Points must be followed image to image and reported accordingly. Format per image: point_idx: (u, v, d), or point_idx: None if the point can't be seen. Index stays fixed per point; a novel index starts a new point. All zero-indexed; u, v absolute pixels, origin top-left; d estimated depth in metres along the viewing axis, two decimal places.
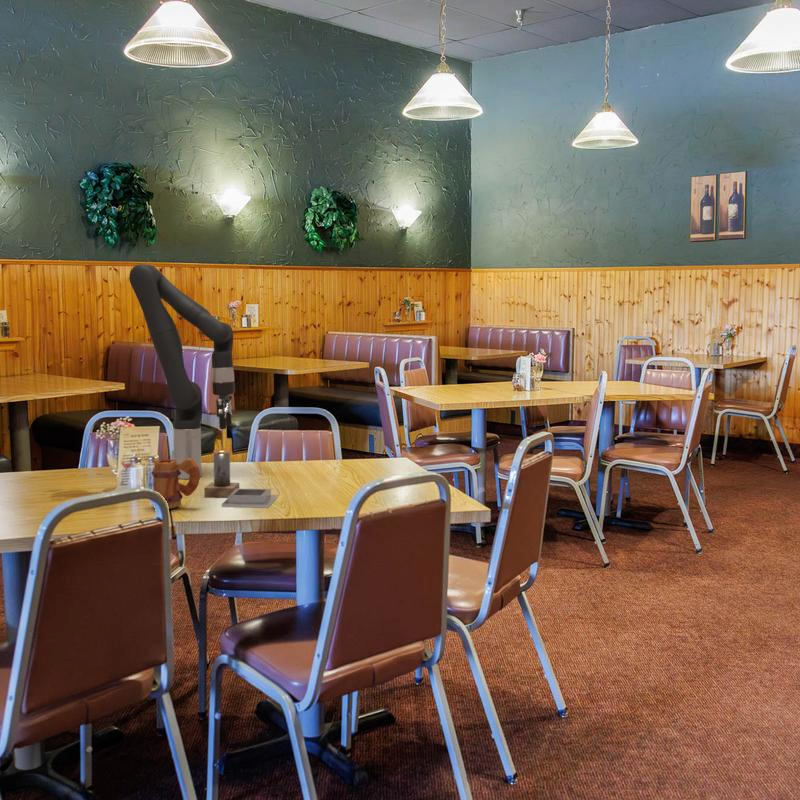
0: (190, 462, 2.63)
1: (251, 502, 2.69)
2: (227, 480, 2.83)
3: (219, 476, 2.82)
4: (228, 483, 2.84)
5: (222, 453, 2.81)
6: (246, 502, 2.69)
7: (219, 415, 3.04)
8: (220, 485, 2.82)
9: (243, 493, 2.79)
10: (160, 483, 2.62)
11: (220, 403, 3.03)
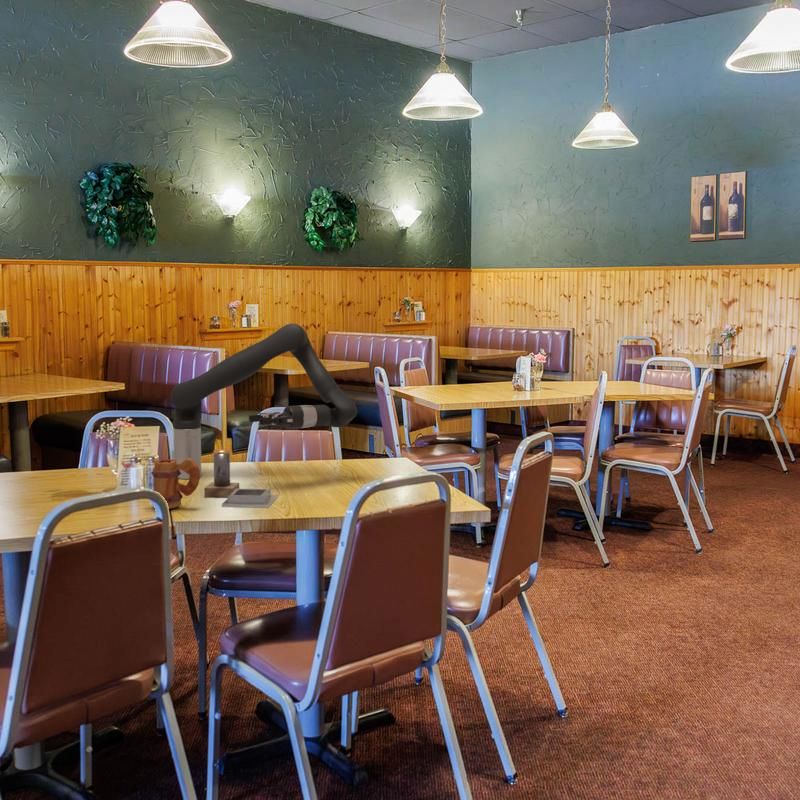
0: (190, 462, 2.63)
1: (251, 502, 2.69)
2: (227, 480, 2.83)
3: (219, 476, 2.82)
4: (228, 483, 2.84)
5: (222, 453, 2.81)
6: (246, 502, 2.69)
7: (277, 420, 2.85)
8: (220, 485, 2.82)
9: (243, 493, 2.79)
10: (160, 483, 2.62)
11: (289, 421, 2.88)
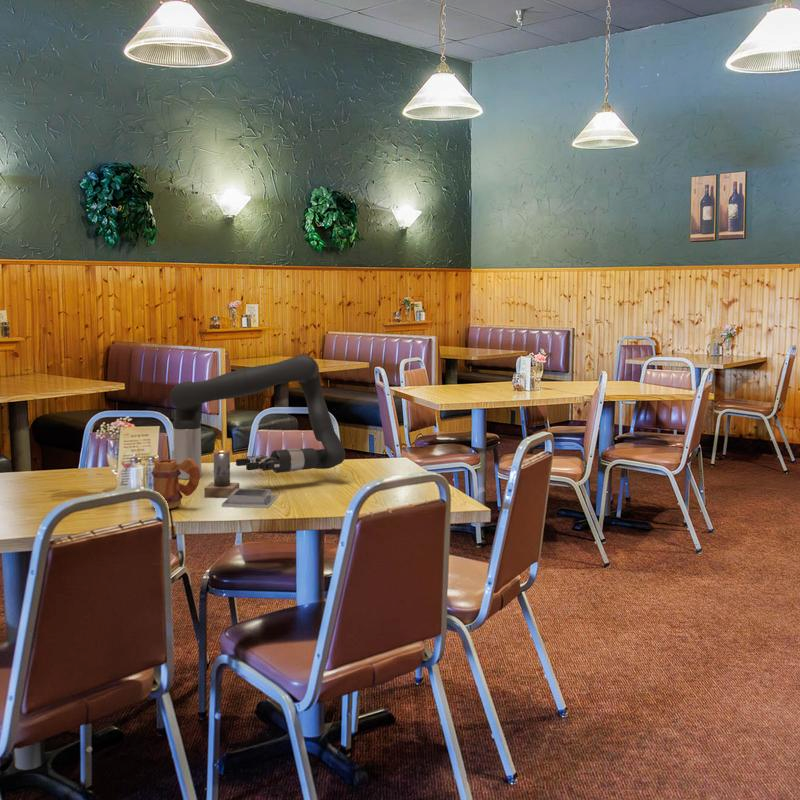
0: (190, 462, 2.63)
1: (251, 502, 2.69)
2: (227, 480, 2.83)
3: (219, 476, 2.82)
4: (228, 483, 2.84)
5: (222, 453, 2.81)
6: (246, 502, 2.69)
7: (264, 465, 2.85)
8: (220, 485, 2.82)
9: (243, 493, 2.79)
10: (160, 483, 2.62)
11: (276, 466, 2.87)
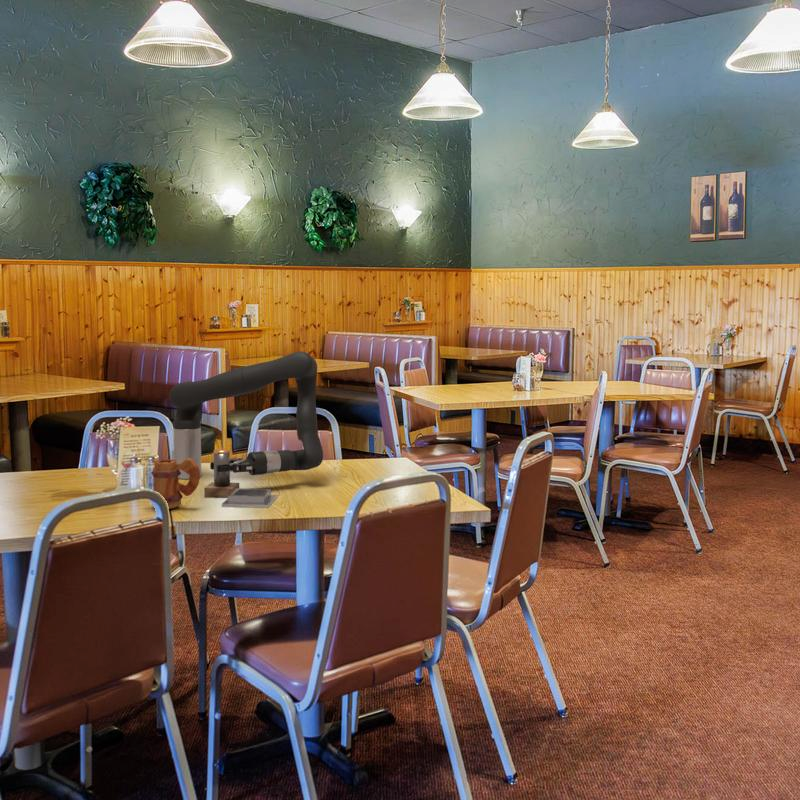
0: (190, 462, 2.63)
1: (251, 502, 2.69)
2: (227, 480, 2.83)
3: (219, 476, 2.82)
4: (228, 483, 2.84)
5: (222, 453, 2.81)
6: (246, 502, 2.69)
7: (235, 467, 2.81)
8: (220, 485, 2.82)
9: (243, 493, 2.79)
10: (160, 483, 2.62)
11: (247, 468, 2.82)
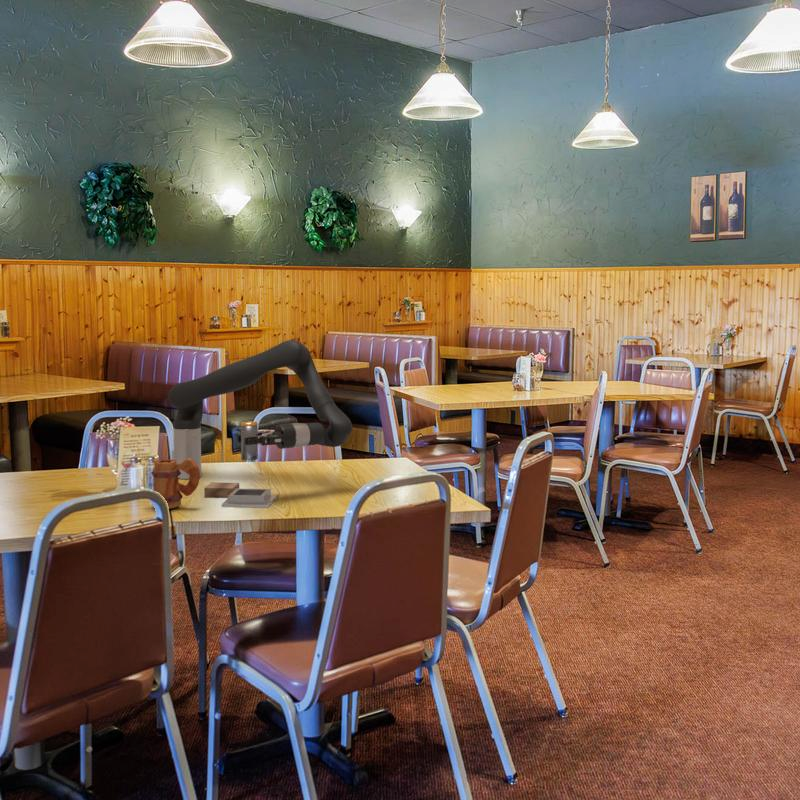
0: (190, 462, 2.63)
1: (251, 502, 2.69)
2: (255, 454, 2.72)
3: (247, 449, 2.71)
4: (256, 456, 2.72)
5: (250, 425, 2.70)
6: (246, 502, 2.69)
7: (263, 440, 2.69)
8: (248, 459, 2.71)
9: (243, 493, 2.79)
10: (160, 483, 2.62)
11: (276, 441, 2.70)
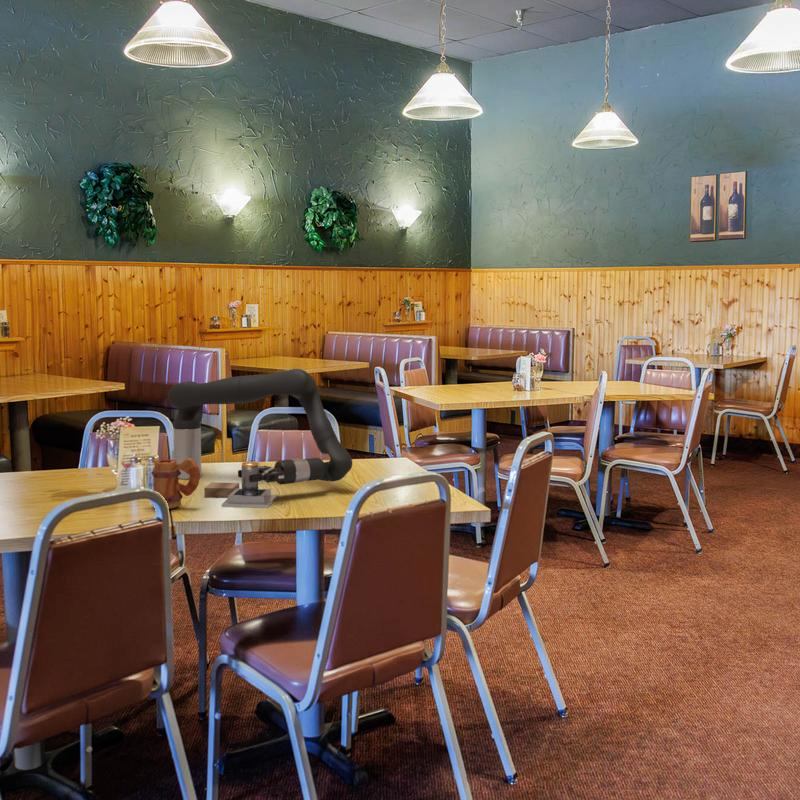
0: (190, 462, 2.63)
1: (251, 502, 2.69)
2: (255, 494, 2.73)
3: (248, 490, 2.72)
4: None
5: (251, 466, 2.71)
6: (246, 502, 2.69)
7: (268, 477, 2.70)
8: None
9: None
10: (160, 483, 2.62)
11: (280, 477, 2.72)
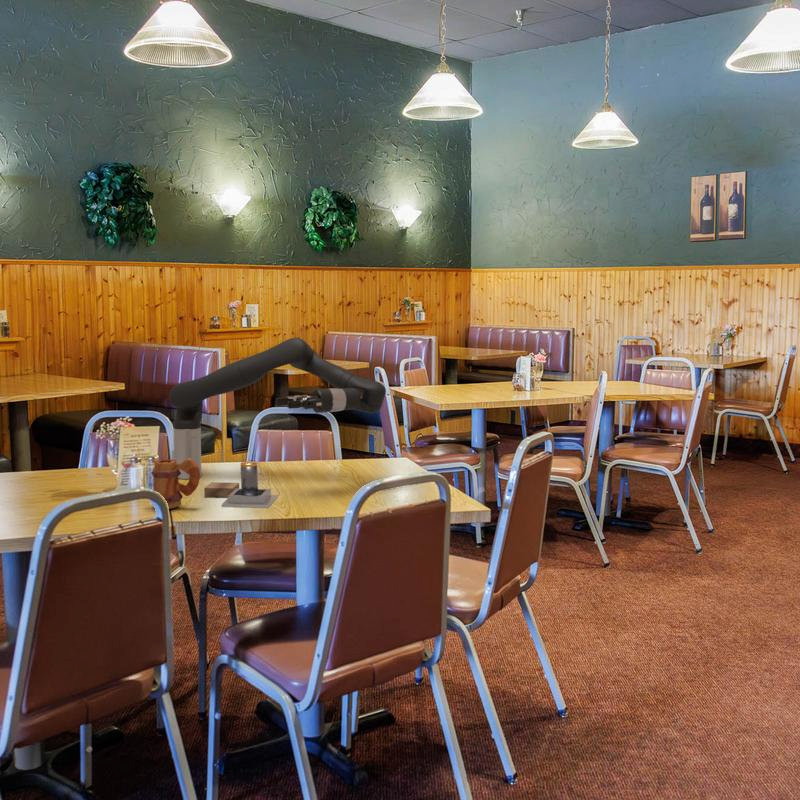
0: (190, 462, 2.63)
1: (251, 502, 2.69)
2: (255, 494, 2.73)
3: (247, 489, 2.72)
4: None
5: (250, 466, 2.71)
6: (246, 502, 2.69)
7: (306, 403, 2.74)
8: None
9: None
10: (160, 483, 2.62)
11: (318, 404, 2.77)
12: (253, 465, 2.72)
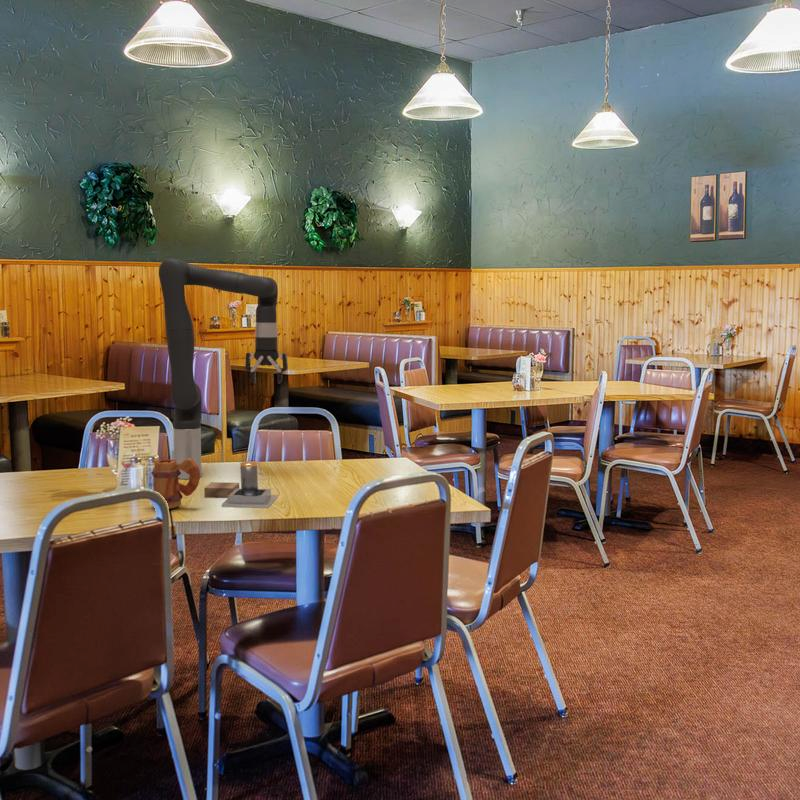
0: (190, 462, 2.63)
1: (251, 502, 2.69)
2: (255, 494, 2.73)
3: (248, 489, 2.72)
4: None
5: (250, 466, 2.71)
6: (246, 502, 2.69)
7: (286, 369, 3.08)
8: None
9: None
10: (160, 483, 2.62)
11: (286, 357, 3.08)
12: (253, 465, 2.72)
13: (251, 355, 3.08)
